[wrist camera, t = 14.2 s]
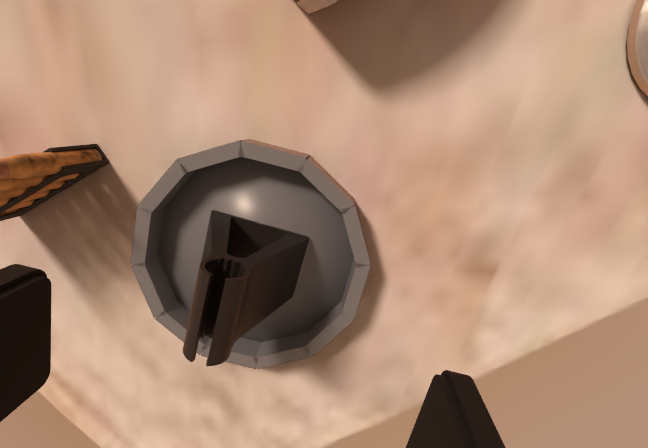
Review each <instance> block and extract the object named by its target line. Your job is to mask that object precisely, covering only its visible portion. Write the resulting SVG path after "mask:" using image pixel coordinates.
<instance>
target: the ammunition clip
mask: <svg viewBox="0 0 648 448" xmlns="http://www.w3.org/2000/svg"><path fill="white" fill-rule="evenodd" d="M108 163H109V161H108V160H107V158H106V157H105V155H104V154H103V152H102V151H101V149H100V148H99V146H98V145H97V144H90V145H79V146H68V147H56V148H49V149H47V150H46V151H44V152H42V153H32V154H21V155H14V156H11V157H8V158H4V159H0V221H2V220H6V219H10V218H13V217H17V216H21V215H23V214H24V213H26V212H28V211H29V210H31V209H33V208H34V207H36V206H38V205H39V204H41V203H43V202H44V201H46V200H48V199H49V198H51V197H53V196H54V195H56V194H58V193H59V192H61V191H63V190H64V189H66V188H68V187H69V186H71V185H73V184H74V183H76V182H78V181H79V180H81V179H83V178H84V177H86V176H88V175H89V174H91V173H93V172H94V171H96V170H98V169H99V168H101V167H103V166H104V165H106V164H108Z"/></svg>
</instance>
